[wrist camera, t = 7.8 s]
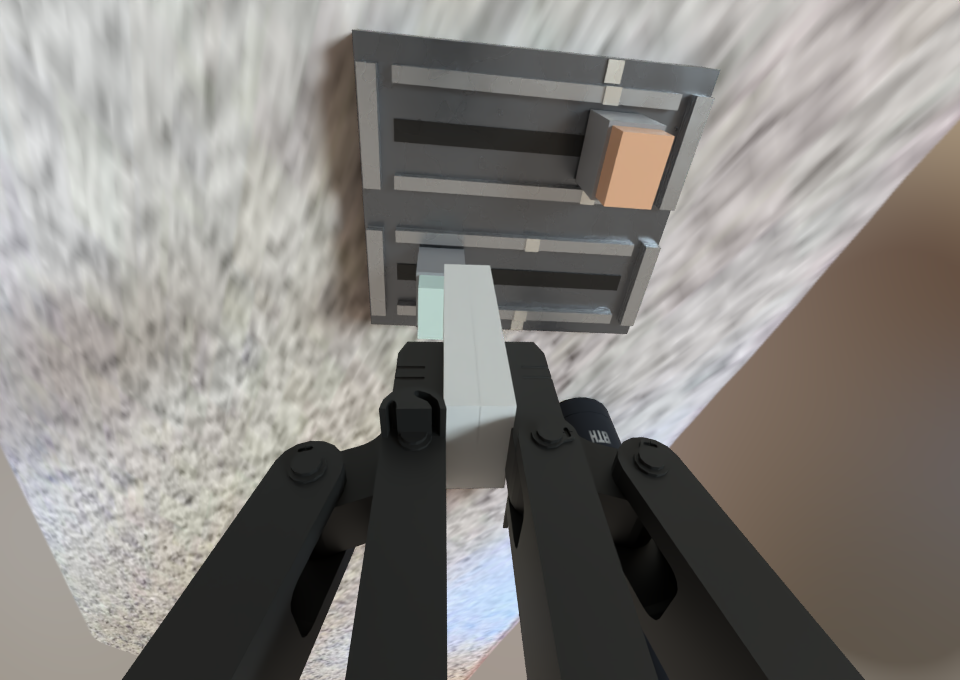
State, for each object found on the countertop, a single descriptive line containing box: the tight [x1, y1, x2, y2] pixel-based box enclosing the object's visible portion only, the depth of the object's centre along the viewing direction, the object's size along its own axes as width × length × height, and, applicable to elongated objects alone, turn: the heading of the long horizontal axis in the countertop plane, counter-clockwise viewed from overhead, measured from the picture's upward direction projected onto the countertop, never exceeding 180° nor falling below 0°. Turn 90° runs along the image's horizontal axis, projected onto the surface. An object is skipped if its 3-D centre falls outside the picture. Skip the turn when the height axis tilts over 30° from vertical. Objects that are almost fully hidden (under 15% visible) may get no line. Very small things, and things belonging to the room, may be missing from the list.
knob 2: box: [575, 109, 675, 210], centre depth 24 cm, size 4×3×5 cm
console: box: [352, 29, 720, 334], centre depth 29 cm, size 18×20×3 cm
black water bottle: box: [560, 398, 669, 680], centre depth 31 cm, size 6×6×30 cm
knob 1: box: [416, 247, 465, 340], centre depth 28 cm, size 4×3×5 cm
